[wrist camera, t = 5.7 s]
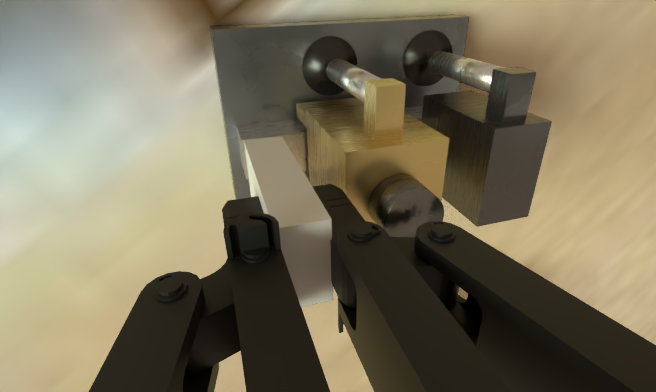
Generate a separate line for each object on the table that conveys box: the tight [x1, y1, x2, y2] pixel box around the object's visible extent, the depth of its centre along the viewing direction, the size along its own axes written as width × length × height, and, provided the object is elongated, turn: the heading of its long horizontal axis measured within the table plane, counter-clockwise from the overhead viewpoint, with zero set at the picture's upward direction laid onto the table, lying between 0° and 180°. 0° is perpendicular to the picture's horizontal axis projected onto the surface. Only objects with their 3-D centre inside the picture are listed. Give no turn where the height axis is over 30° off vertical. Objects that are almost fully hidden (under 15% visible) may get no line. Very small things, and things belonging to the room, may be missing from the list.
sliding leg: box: [296, 58, 449, 237], centre depth 15 cm, size 4×6×8 cm, turn 2°
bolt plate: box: [210, 15, 552, 226], centre depth 17 cm, size 12×8×8 cm, turn 92°
